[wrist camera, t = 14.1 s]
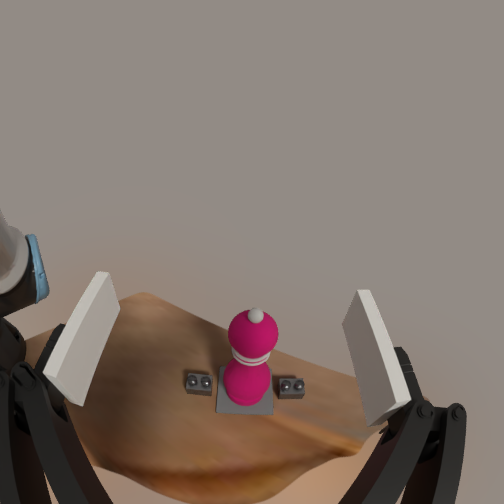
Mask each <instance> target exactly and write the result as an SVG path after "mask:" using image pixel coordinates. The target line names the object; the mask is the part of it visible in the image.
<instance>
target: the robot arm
mask: <svg viewBox="0 0 504 504" xmlns="http://www.w3.org/2000/svg"><path fill="white" fill-rule="evenodd" d="M48 294H49V286H48V282H47V278H46V274H45V270H44V267H43V263H42V259H41V255H40V251H39V246H38V242H37V238H36V236H35V235H34V234H31V235H26V236H25V237H24V235H23V234H22V233H21V232H20V231H19V230H18V229H16V228H14V227H12V226H8V224H7V222H6V220H5V218H4V216H3V214H2V212H1V211H0V504H52V502H51V500H50V495H49V491H48V488H47V484H46V479H45V475H46V477H47V479H48V482H49V484H50V486H51V488H52V490H53V493H54V495H55V497H56V499H57V501H58V503H59V504H113V502H112V501H111V499H110V498H109V496H108V494H107V493H106V491H105V490H104V488H103V486H102V485H101V483H100V481H99V479H98V477H97V475H96V474H95V472H94V470H93V468H92V466H91V464H90V462H89V460H88V458H87V456H86V454H85V452H84V450H83V447H82V445H81V443H80V441H79V438H78V436H77V434H76V431H75V429H74V426H73V424H72V421H71V419H70V416H69V413H68V410H67V408H66V405H65V403H64V398H65V397H66V398H67V399H68V400H69V401H70V402H71V403H74V404H77V405H80V406H82V407H83V404H84V401H85V398H86V395H87V392H88V389H89V386H90V383H91V381H92V378H93V375H94V372H95V370H96V367H97V364H98V362H99V359H100V356H101V354H102V351H103V349H104V346H105V344H106V341H107V339H108V337H109V334H110V332H111V329H112V327H113V325H114V323H115V320H116V318H117V316H118V313H119V311H120V306H119V303H118V300H117V297H116V294H115V290H114V287H113V284H112V281H111V277H110V274H109V273H107V272H97V273H96V275H95V276H94V278H93V279H92V281H91V283H90V284H89V286H88V287H87V289H86V291H85V293H84V294H83V296H82V297H81V299H80V301H79V303H78V304H77V306H76V308H75V310H74V312H73V313H72V315H71V317H70V319H69V320H68V322H67V324H66V325H64V324H60V325H58V326H57V327H56V328H55V329H54V330H53V332H52V334H51V336H50V338H49V340H48V342H47V344H46V347H44V349H43V351H42V353H41V356H40V358H39V360H38V362H37V364H36V366H35V368H34V370H33V368H32V367H31V366H30V365H29V364H28V363H27V362H24V358H25V354H26V345H25V341H24V338H23V337H22V335H21V334H20V333H19V331H18V330H17V328H16V327H14V326H13V325H12V324H11V323H9V322H8V321H7V320H6V319H4V318H3V317H4V316H7V315H9V314H11V313H13V312H16V311H18V310H20V309H23V308H25V307H27V306H29V305H32V304H34V303H35V304H36V303H38V302H39V301H40V300H42V299H44V298H46V297H47V296H48ZM342 326H343V329H344V333H345V336H346V340H347V343H348V347H349V351H350V355H351V358H352V362H353V366H354V370H355V374H356V378H357V382H358V386H359V391H360V395H361V399H362V404H363V408H364V413H365V417H366V422H367V427H371V426H376V425H381V424H382V423H384V422H385V421H386V420H388V425H387V426H386V427H385V428H383V429H382V430H381V431H380V432H379V434H381V433H383V434H382V436H381V438H380V440H379V442H378V444H377V445H376V447H375V449H374V451H373V452H372V454H371V456H370V458H369V459H368V461H367V462H366V464H365V466H364V468H363V469H362V470H361V472H360V473H359V475H358V477H357V478H356V480H355V481H354V483H353V484H352V485H351V487H350V488H349V490H348V491H347V492H346V494H345V495H344V497H343V498H342V499H341V501H340V502H339V503H338V504H395V503H396V502H397V500H398V498H399V496H400V494H401V493H402V491H403V489H404V487H405V485H406V487H405V491H404V494H403V497H402V501H401V503H400V504H455V499H456V495H457V490H458V486H459V481H460V476H461V469H462V463H463V456H464V455H463V454H464V446H465V436H466V417H467V416H466V411H465V408H464V407H463V406H462V405H461V404H459V403H454V404H452V405H450V406H449V407H448V408H441V407H434V406H433V405H432V404H431V403H430V402H429V401H426V400H424V398H423V396H422V393H421V390H420V387H419V385H418V382H417V379H416V376H415V374H414V372H413V368H412V365H410V364H411V363H410V360H409V358H408V355H407V354H406V352H405V351H404V350H403V349H402V347H393V345H392V343H391V340H390V338H389V335H388V332H387V330H386V328H385V325H384V323H383V320H382V318H381V316H380V313H379V311H378V308H377V306H376V304H375V301H374V299H373V297H372V295H371V292H370V290H357V292H356V294H355V296H354V298H353V301H352V303H351V305H350V307H349V310H348V312H347V314H346V316H345V319H344V321H343V323H342ZM44 472H45V475H44Z"/></svg>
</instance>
